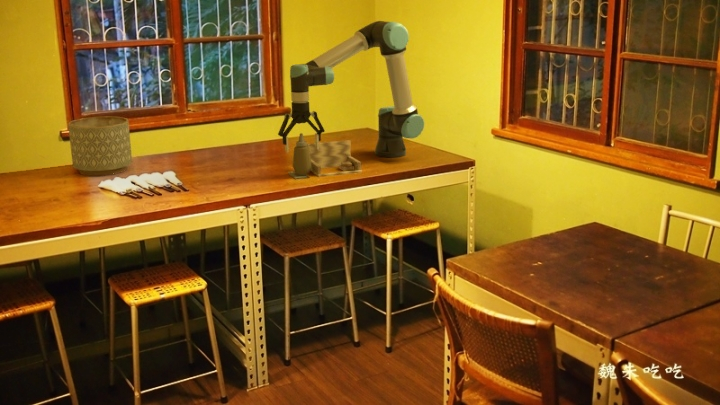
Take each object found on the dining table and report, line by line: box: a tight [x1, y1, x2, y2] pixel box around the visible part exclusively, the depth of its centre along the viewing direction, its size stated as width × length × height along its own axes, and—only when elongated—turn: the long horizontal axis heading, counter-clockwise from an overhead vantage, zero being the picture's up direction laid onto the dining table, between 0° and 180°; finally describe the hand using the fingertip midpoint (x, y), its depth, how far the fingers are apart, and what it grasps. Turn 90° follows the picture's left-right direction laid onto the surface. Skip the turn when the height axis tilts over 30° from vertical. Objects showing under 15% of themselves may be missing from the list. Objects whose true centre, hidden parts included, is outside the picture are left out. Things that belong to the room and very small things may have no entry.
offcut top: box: [341, 161, 352, 168], centre depth 353 cm, size 4×5×2 cm
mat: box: [287, 171, 311, 180], centre depth 346 cm, size 10×11×1 cm
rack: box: [307, 139, 363, 178], centre depth 350 cm, size 20×16×12 cm
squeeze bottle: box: [292, 132, 311, 176], centre depth 344 cm, size 8×8×18 cm
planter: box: [67, 116, 133, 176], centre depth 354 cm, size 26×26×22 cm
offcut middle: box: [338, 165, 355, 172], centre depth 353 cm, size 5×6×2 cm
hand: (302, 150), depth 343 cm, fingers open, 13 cm apart
